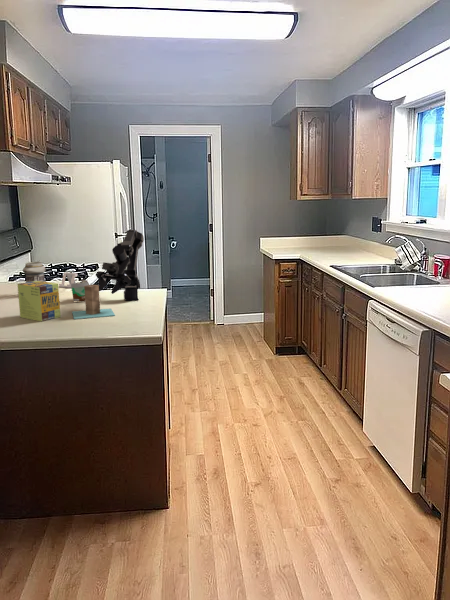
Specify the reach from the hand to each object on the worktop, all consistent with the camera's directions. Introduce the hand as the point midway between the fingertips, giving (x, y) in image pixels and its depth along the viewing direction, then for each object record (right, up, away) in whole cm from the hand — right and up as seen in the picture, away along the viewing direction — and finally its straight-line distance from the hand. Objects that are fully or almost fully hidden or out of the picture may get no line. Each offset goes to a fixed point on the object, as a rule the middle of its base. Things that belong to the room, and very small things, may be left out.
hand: (104, 292), depth 239 cm
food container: (-17, -4, +25) cm, 31 cm away
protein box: (-27, -12, -9) cm, 31 cm away
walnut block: (-4, -10, -5) cm, 12 cm away
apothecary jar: (-47, -1, +41) cm, 62 cm away
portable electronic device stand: (-36, +4, +64) cm, 74 cm away
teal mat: (-4, -10, -5) cm, 12 cm away
